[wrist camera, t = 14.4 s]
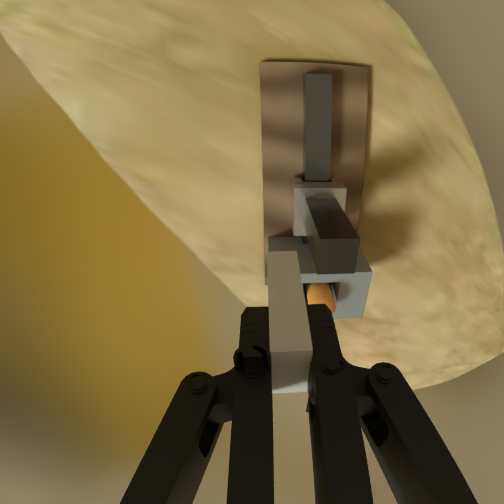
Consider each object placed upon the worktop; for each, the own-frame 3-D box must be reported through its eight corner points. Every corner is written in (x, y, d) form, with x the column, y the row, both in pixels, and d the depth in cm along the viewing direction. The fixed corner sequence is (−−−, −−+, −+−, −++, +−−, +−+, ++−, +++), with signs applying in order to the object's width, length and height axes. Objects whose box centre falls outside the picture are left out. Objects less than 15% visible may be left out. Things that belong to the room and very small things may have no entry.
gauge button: (302, 261, 41) (310, 299, 34) (325, 260, 41) (337, 298, 34) (301, 280, 42) (308, 319, 35) (323, 279, 42) (333, 318, 35)
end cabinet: (267, 237, 43) (269, 274, 35) (353, 236, 42) (372, 271, 35) (268, 279, 46) (269, 320, 38) (347, 277, 46) (362, 317, 38)
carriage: (291, 177, 38) (306, 226, 26) (338, 177, 38) (374, 226, 25) (290, 220, 41) (303, 285, 29) (335, 220, 41) (364, 283, 28)
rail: (303, 74, 32) (305, 73, 30) (328, 75, 32) (331, 74, 30) (300, 236, 43) (302, 243, 41) (322, 236, 42) (324, 243, 41)
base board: (259, 62, 32) (259, 62, 31) (365, 67, 32) (367, 67, 31) (264, 282, 47) (264, 285, 47) (348, 279, 47) (349, 282, 46)
